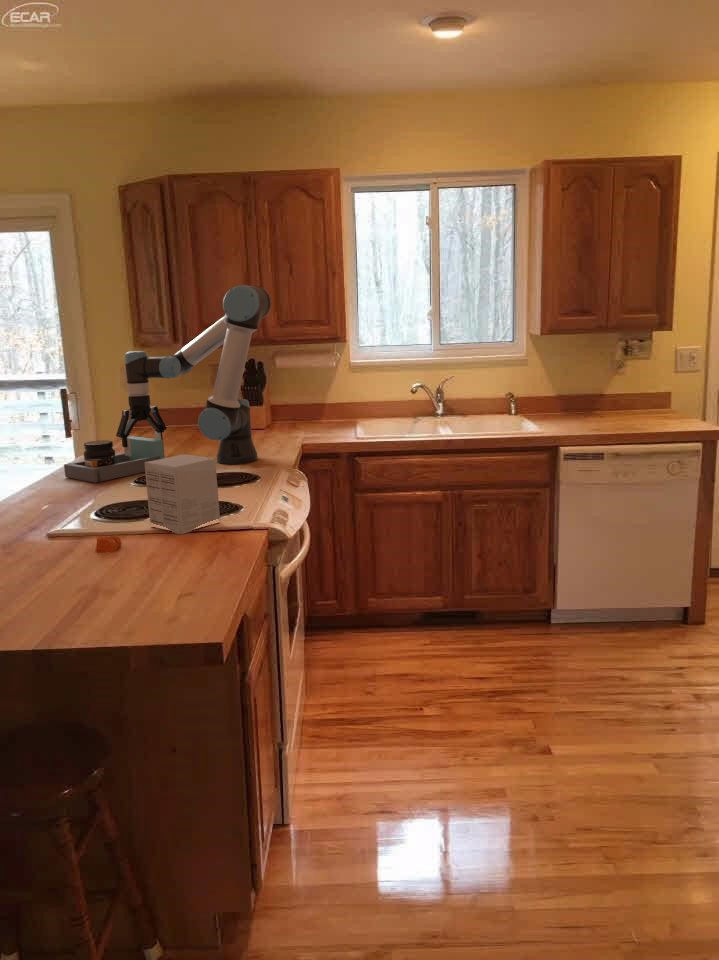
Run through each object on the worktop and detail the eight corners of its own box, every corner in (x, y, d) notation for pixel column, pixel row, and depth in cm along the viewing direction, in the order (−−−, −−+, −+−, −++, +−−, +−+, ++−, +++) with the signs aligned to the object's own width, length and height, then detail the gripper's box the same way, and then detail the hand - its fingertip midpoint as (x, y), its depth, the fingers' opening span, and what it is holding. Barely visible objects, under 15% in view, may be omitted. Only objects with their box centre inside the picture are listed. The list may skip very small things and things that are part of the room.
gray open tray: (165, 467, 283) (163, 439, 280) (95, 482, 260) (92, 453, 258) (135, 462, 293) (132, 436, 291) (65, 477, 271) (62, 448, 269)
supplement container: (85, 480, 266) (81, 445, 264) (86, 474, 276) (83, 441, 273) (117, 477, 269) (113, 443, 266) (118, 472, 279) (114, 438, 276)
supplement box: (189, 516, 214) (184, 453, 211) (221, 523, 206) (216, 458, 202) (149, 527, 204) (142, 461, 201) (180, 535, 196) (174, 467, 192)
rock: (141, 543, 193) (140, 526, 192) (127, 558, 181) (126, 541, 180) (93, 544, 193) (91, 528, 192) (76, 560, 181) (74, 542, 180)
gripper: (160, 390, 293) (164, 446, 297) (102, 397, 274) (108, 457, 278) (173, 391, 288) (177, 448, 293) (115, 399, 269) (120, 459, 274)
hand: (143, 452), depth 286 cm, fingers open, 13 cm apart
